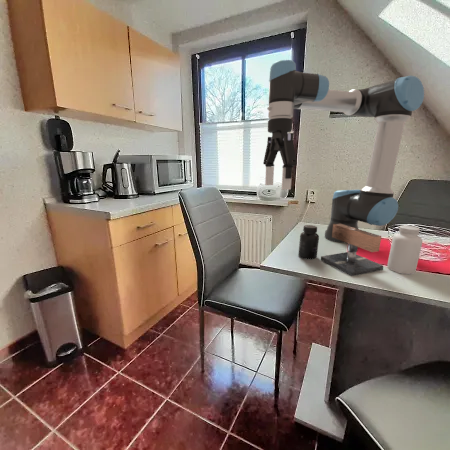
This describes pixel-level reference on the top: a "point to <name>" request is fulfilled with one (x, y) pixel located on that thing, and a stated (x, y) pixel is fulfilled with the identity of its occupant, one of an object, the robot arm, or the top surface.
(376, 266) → the post base
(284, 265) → the top surface
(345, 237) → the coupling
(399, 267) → the pill bottle
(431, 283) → the top surface
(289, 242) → the top surface
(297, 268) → the top surface
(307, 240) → the supplement bottle
